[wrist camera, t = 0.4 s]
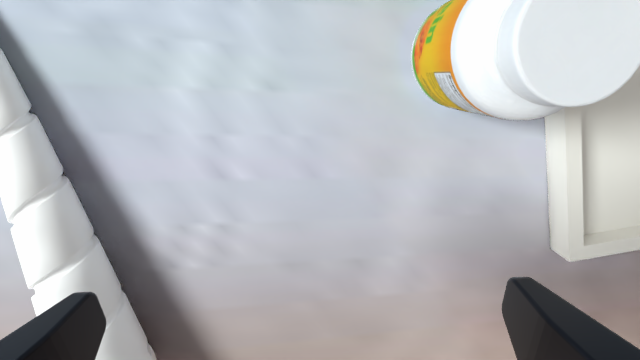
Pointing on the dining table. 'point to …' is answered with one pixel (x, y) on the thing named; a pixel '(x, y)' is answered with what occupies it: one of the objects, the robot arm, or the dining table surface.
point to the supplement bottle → (526, 54)
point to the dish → (595, 176)
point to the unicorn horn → (57, 226)
